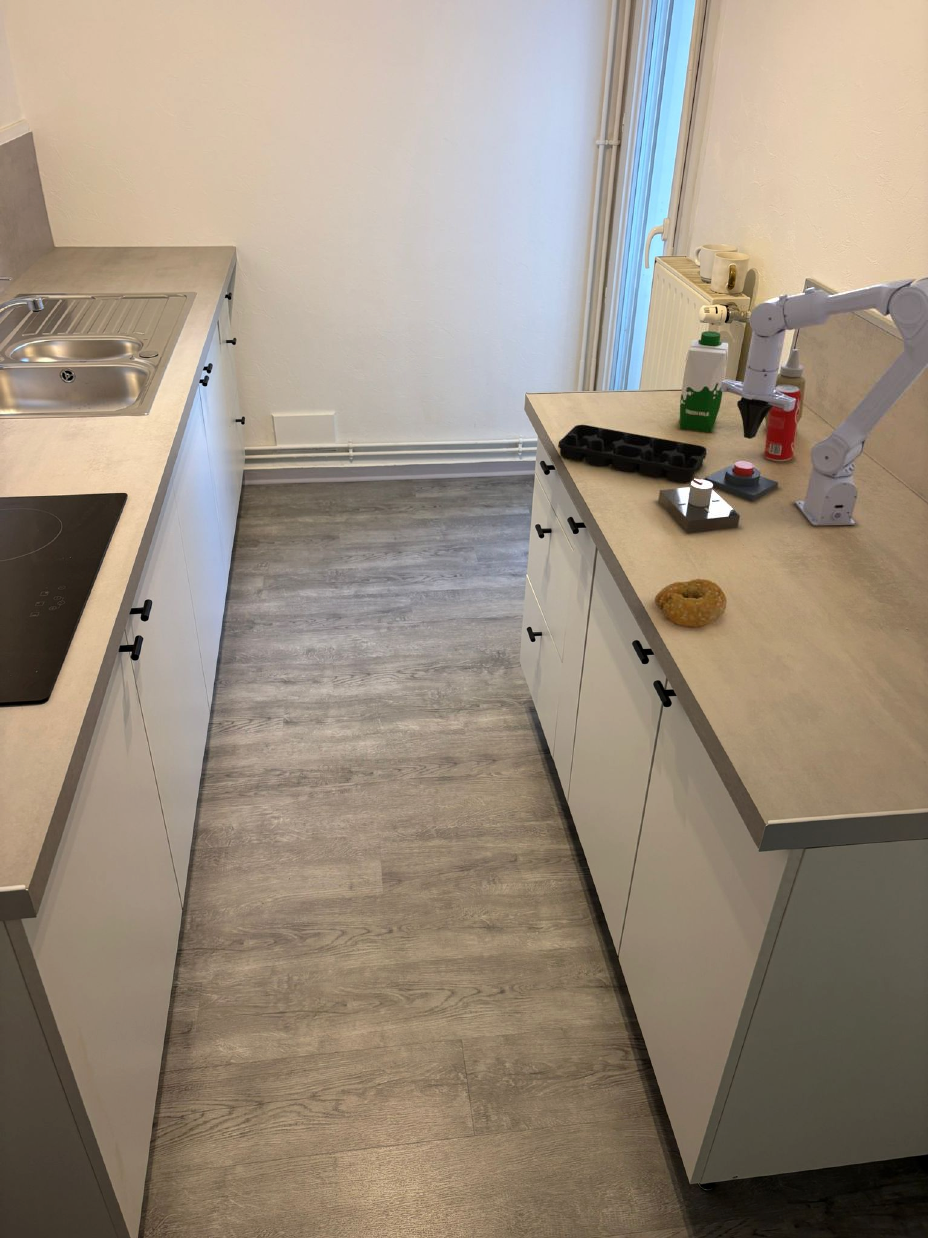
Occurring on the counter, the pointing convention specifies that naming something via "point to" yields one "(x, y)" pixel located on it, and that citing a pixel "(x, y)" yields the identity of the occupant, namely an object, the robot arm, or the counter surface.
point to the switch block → (742, 483)
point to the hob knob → (700, 493)
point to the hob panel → (698, 511)
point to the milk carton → (703, 382)
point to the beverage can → (782, 426)
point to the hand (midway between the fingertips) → (749, 436)
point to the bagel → (692, 602)
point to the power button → (743, 468)
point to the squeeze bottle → (791, 378)
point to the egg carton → (633, 452)
